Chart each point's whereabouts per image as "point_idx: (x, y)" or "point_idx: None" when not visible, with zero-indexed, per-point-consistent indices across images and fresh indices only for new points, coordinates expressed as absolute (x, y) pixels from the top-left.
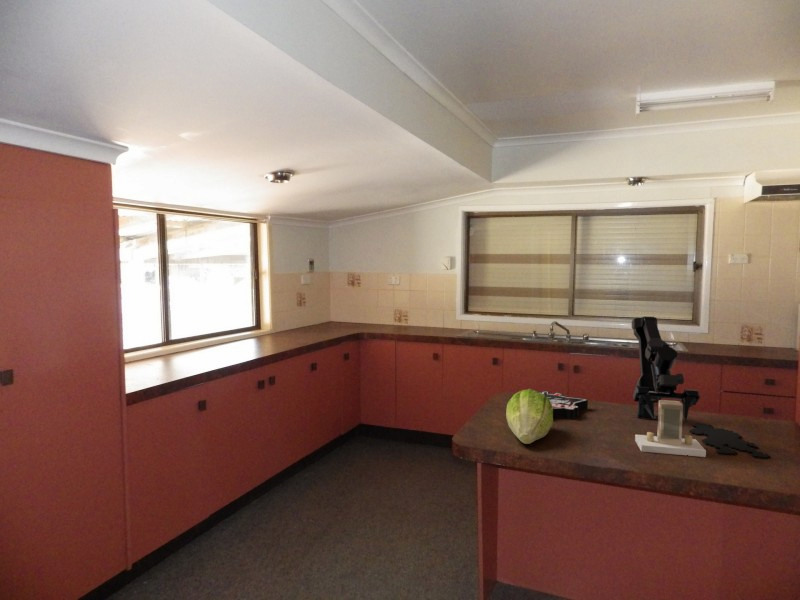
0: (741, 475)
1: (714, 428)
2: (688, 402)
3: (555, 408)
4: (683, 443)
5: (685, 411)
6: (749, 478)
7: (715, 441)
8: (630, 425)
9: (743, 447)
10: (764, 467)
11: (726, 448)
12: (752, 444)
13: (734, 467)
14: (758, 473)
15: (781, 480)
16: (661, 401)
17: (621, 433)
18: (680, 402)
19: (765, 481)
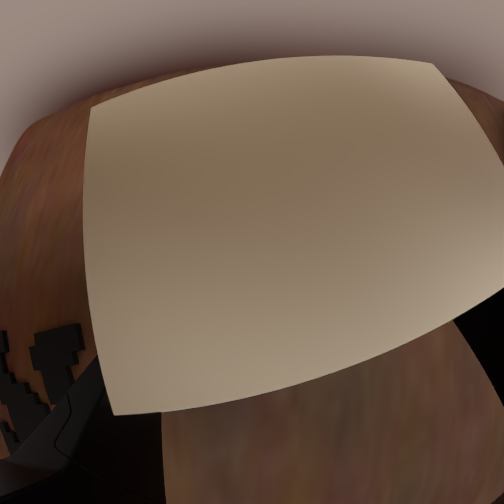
0: (69, 154)
1: None
2: (19, 468)
3: None
4: None
5: None
6: (60, 147)
7: None
8: (421, 501)
9: (19, 410)
10: (3, 255)
11: (52, 383)
12: (10, 443)
13: (63, 206)
14: (28, 196)
15: (8, 181)
16: (488, 164)
17: (459, 386)
18: (89, 278)
19: (37, 152)
